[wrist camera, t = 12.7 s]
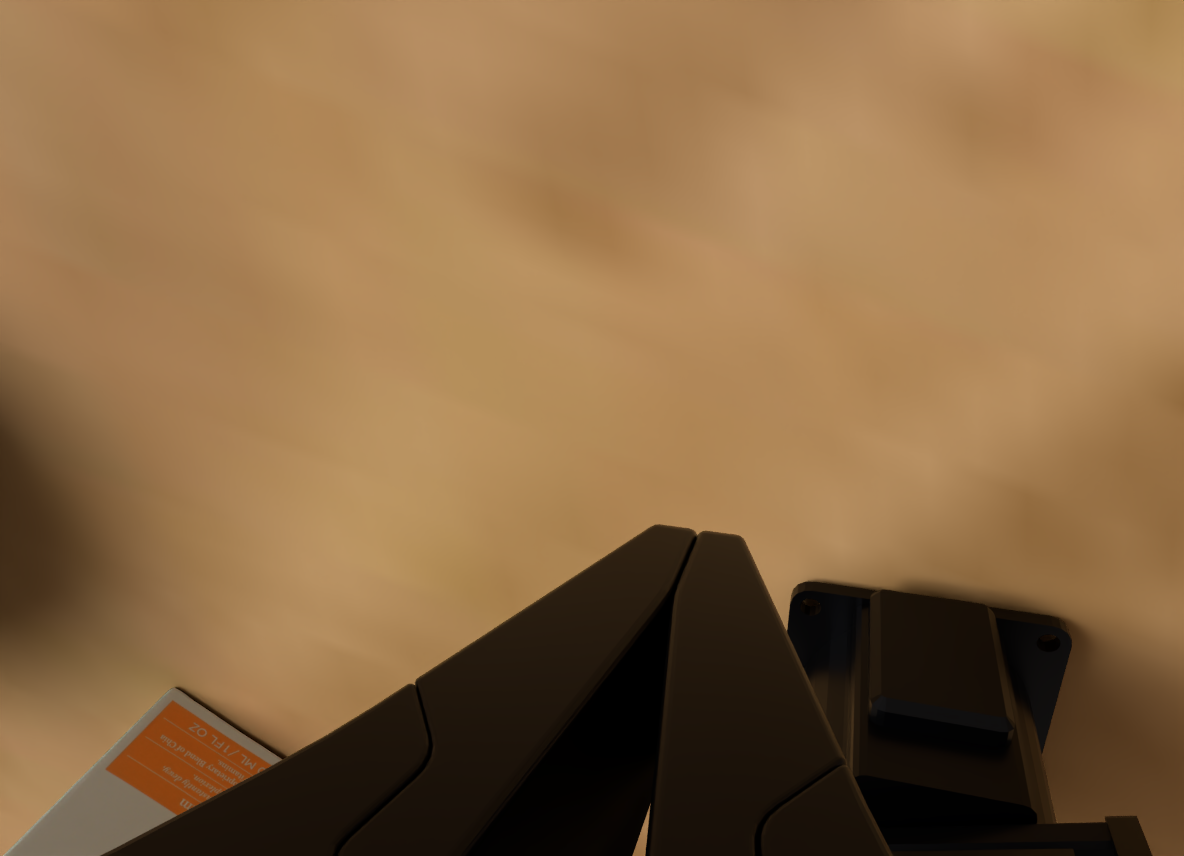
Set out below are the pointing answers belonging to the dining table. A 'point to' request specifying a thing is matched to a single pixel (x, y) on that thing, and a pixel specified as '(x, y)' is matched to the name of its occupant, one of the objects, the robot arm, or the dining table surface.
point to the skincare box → (146, 780)
